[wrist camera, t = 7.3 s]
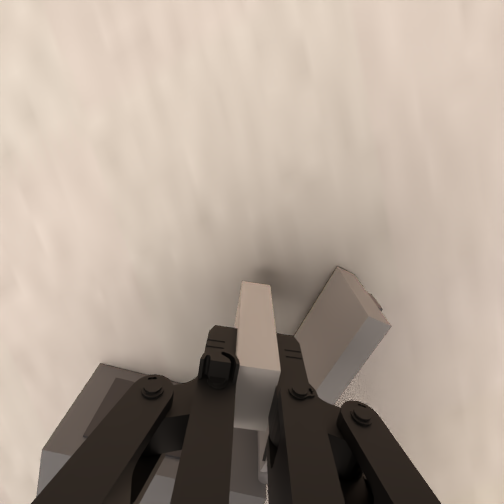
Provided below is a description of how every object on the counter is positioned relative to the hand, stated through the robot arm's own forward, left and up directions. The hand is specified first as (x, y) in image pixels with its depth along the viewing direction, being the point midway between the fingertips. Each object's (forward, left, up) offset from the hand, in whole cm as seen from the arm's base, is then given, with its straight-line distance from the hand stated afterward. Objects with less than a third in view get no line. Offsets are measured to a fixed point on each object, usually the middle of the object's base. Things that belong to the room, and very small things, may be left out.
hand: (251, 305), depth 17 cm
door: (0, -6, -3) cm, 6 cm away
